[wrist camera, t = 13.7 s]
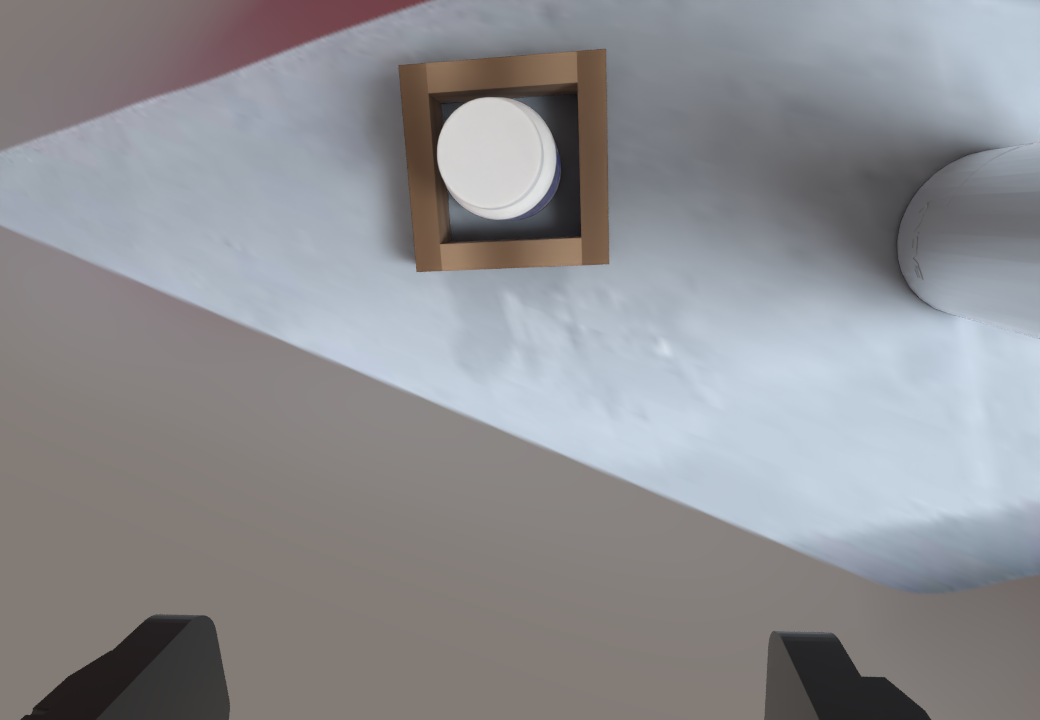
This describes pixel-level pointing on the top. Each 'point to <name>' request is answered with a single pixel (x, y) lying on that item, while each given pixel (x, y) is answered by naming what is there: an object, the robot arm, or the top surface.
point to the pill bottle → (499, 159)
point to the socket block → (507, 80)
